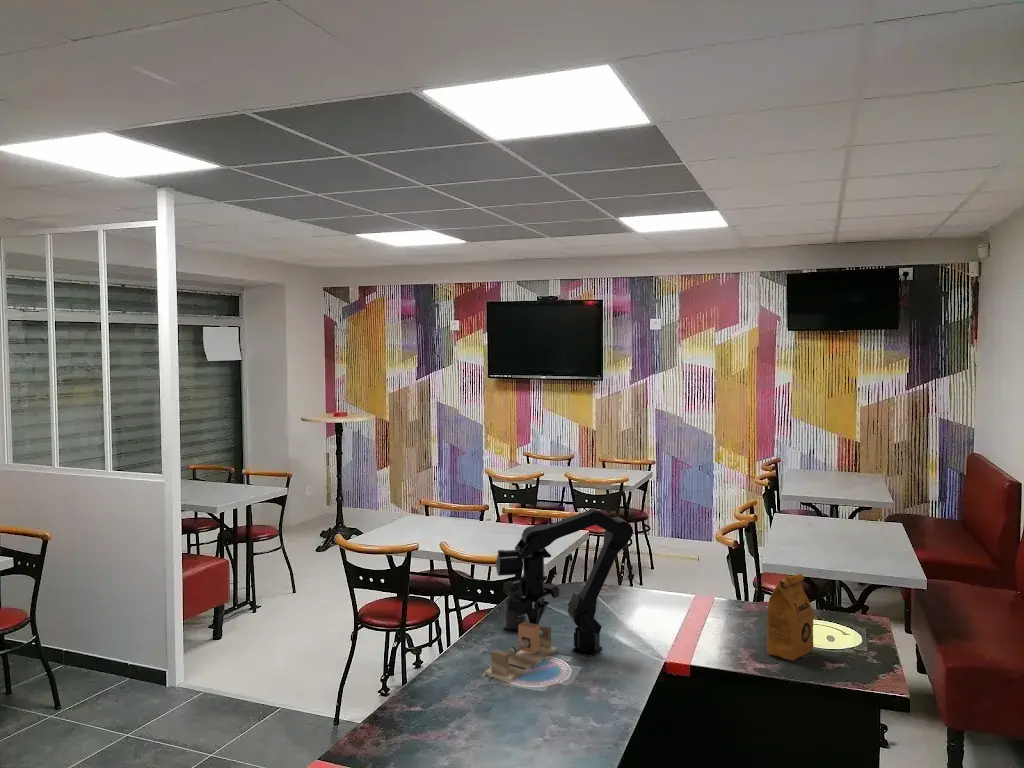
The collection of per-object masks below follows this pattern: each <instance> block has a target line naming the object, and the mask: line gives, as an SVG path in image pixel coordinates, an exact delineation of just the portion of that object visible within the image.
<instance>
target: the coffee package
mask: <svg viewBox="0 0 1024 768" xmlns="http://www.w3.org/2000/svg"><path fill="white" fill-rule="evenodd" d="M804 580H805V577H804V575H803V573H798V574H794V575H789V576H785V577H784V578H781V580H779V581H778V583H777V584H776V586H775V587H774V589H773V591H772V592H771V593H770V597H769V599H768V604H767V614H766V615H767V616H766V617H767V618H766V619H767V620H766V635H767V636H766V638H767V639H766V640H767V642H766V643H767V648H766V649H767V655H769V656H770V655H771V656H775V657H780V658H782V659H783V660H790V661H795V660H797V659H799V658H801V657H804V656H806V655H808V654H811V653H812V652H813V650H814V648H815V647H814V611H813V607H812V604H811V602H810V599H809V598H808V595H806V593H805V590H804V588H803V584H802V582H803V581H804Z"/></svg>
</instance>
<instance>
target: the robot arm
mask: <svg viewBox="0 0 1024 768" xmlns="http://www.w3.org/2000/svg"><path fill="white" fill-rule="evenodd" d="M593 526H598V527H599V528H601V529H603V530H604V535H603V544H602V547H601V550H600V552H599V553H598V556H597V558H596V560H595V562H594V565H593V567H592V569H591V571H590V573H589V575H588V577H587V580H586V582H585V584H584V586H583V589H581V591H580V592H579V593H577V594H576V592H573V593H572V595H571V597H570V601H569V602H568V603H567V604H566V605H567V607H568V608H567V613H568V616H569V618H570V619H571V620H572V621H573V623H574V624H575V625H576V626H577V627H575V629H574V632H573V647H574V648H572V652H575V653H578V654H583V655H586V656H589V657H592V656H595V655H597V654H598V652H600V651H602V649H603V646H601V644H600V637H601V635H600V634H601V631H602V625H601V624H600V622H598V620H597V619H596V617H595V615H596V612H597V602H598V601H597V600H598V598H599V596H600V595H599V594H600V593H601V590H602V588H603V586H604V584H605V582H606V580H607V577H608V575H609V574H610V571H611V569H612V567H613V565H614V562H615V560H616V558H617V555H618V554H619V553H620V551H622V550H623V549H624V548H625V547H626V546H627V545H628V543H629V542H630V540H631V539H632V537H633V535H634V529H633V526H632V525H631V524H630V523H629V522H627V520H625V519H623V518H621V517H618V516H614V517H611V516H610V515H607V513H606V514H605V513H603V512H601V511H599V510H598V509H596V508H593V507H592V508H589V509H588V510H586V511H583V512H580V513H578V514H575V515H571V516H569V517H567V518H563V519H561V520H559V521H555V522H552V523H549V524H537V525H531V526H527V527H525V529H523V531H522V533H521V538H520V539H519V541H518V542H517V543H516V545H515V547H514V549H512V550H509V549H508V550H504V549H499V550H498V551H497V555H496V560H495V566H496V567H495V568H496V574H497V576H498V577H501V576H513V575H514V576H515V575H519V574H520V573H522V571H523V575H522V576H521V577H519V579H518V580H514V581H512V580H510V581H505V582H504V583H503V587H502V588H503V592H504V594H505V595H507V597H508V596H511V595H514V594H518V593H519V596H523V597H525V598H520V597H515V598H513V599H511V600H509V601H508V602H507V610H508V611H513V612H517V613H521V614H526V613H527V620H528V621H529V623H533V624H538V625H539V624H540V621H541V619H542V617H543V614H544V612H545V610H546V608H547V607H548V605H549V603H550V601H547V600H545V597H546V596H548V595H551V597H552V598H553V599H556V598H558V597H559V596H560V589H559V587H558V586H557V585H554V584H549V583H545V581H547V580H548V576H546V575H545V559H547V558H549V559H550V558H551V557H552V554H551V553H550V552H549V551H547V547H549V546H550V545H552V543H554V541H556V540H558V539H561V538H563V537H566V536H568V535H571V534H575V533H577V532H579V531H583V530H584V529H587V528H590V527H593Z"/></svg>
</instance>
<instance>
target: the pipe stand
mask: <svg viewBox="0 0 1024 768" xmlns="http://www.w3.org/2000/svg"><path fill="white" fill-rule="evenodd" d="M538 625H539V650H538V651H537V652H535V653H530V652H526V651H522V649H524V648H525V647H527V646H528V645H530V638H525V639H524V640H522V641H520V642H519V641H518V642H517V643H515V644H514V645H512V646H510V647H508V648H507V649H506V650H504V651H501V650H496V649H494V650H492V651H491V652H490V654H491V655H490V656H491V661H490V662H491V665H490V668H488V669H487V670H485V671H484V676H485V675H488V676H487V677H489V676H490V678H492V677H494V678H493V679H496V678H497V679H496V680H499V679H500V681H504V682H506V681H508V683H510V682H511V683H512V682H513V680H514V681H515V680H516V678H517V677H518V678H519V676H520V675H521V676H523V675H524V674H525V672H526V671H527V670H528V671H530V670H531V669H533V668H534V667H536V666H537V665H538V663H539V662H540V663H541V661H542V660H543V659H545V658H546V657H548V656H549V657H551V656H553V653H554V652H555V653H557V652H558V647H556V646H552V627H549V626H546V625H542V624H541V625H540V624H538ZM556 651H557V652H556ZM555 653H554V654H555ZM550 655H551V656H550ZM549 657H548V658H549ZM546 659H547V658H546ZM546 659H545V660H546ZM543 661H544V660H543ZM543 661H542V662H543ZM540 663H539V664H540ZM536 664H537V665H536ZM535 665H536V666H535ZM533 666H534V667H533ZM532 667H533V668H532ZM530 668H531V669H530ZM529 669H530V670H529ZM528 671H527V672H528ZM527 672H526V673H527ZM523 673H524V674H523ZM522 674H523V675H522ZM521 676H520V677H521ZM518 678H517V679H518Z"/></svg>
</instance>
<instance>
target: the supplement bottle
mask: <svg viewBox="0 0 1024 768" xmlns="http://www.w3.org/2000/svg"><path fill="white" fill-rule="evenodd" d="M515 597H520V598H525V596H519V593H518V594H514V595H511V596H508V595H507V597H505V599H504V628H505V629H506V630H508V631H510V632H511V631H512V632H513V631H514V632H519V627H518V625H519V624H521V623H522V622H528V621H527V620H528V616H527V613H526V614H521V613H517V612H513V611H508V610H507V602H508V601H509V600H511V599H513V598H515Z"/></svg>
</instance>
